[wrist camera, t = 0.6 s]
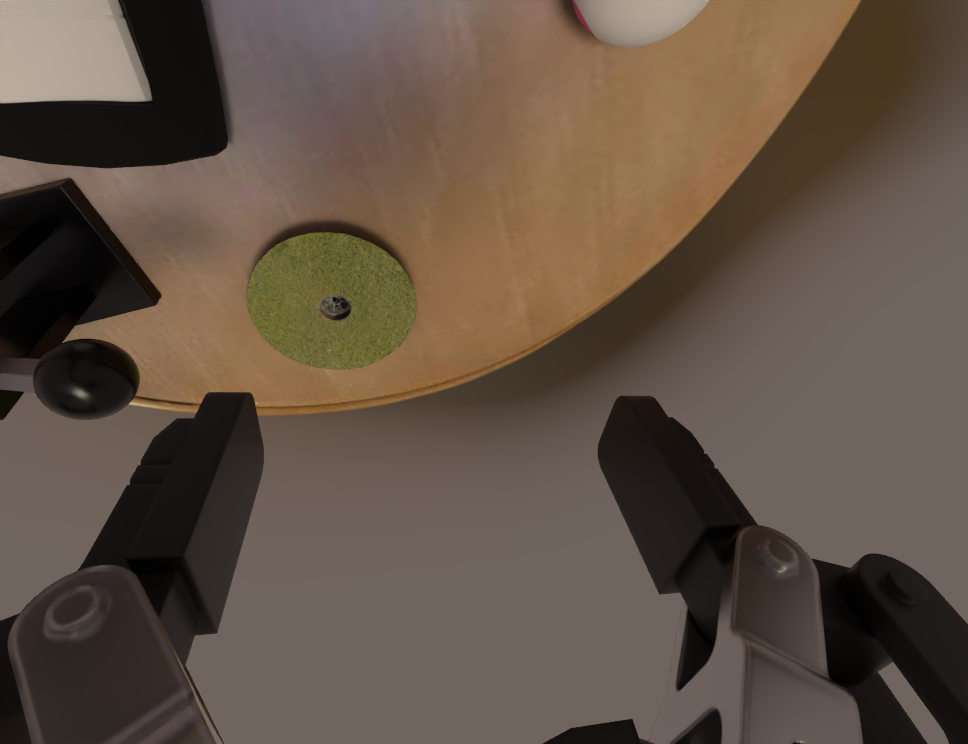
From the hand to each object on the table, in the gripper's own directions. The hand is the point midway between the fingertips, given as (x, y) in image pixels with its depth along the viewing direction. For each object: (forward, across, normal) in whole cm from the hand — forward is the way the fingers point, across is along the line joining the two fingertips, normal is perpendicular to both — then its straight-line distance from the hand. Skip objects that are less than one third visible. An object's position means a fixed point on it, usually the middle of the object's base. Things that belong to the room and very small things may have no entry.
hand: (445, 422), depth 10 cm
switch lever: (+12, +17, +7) cm, 22 cm away
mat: (+24, +5, +10) cm, 26 cm away
